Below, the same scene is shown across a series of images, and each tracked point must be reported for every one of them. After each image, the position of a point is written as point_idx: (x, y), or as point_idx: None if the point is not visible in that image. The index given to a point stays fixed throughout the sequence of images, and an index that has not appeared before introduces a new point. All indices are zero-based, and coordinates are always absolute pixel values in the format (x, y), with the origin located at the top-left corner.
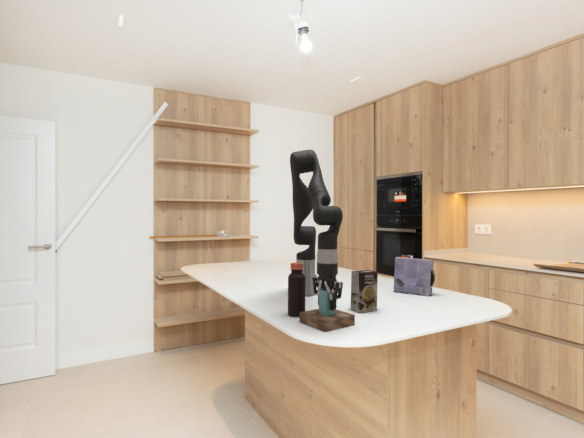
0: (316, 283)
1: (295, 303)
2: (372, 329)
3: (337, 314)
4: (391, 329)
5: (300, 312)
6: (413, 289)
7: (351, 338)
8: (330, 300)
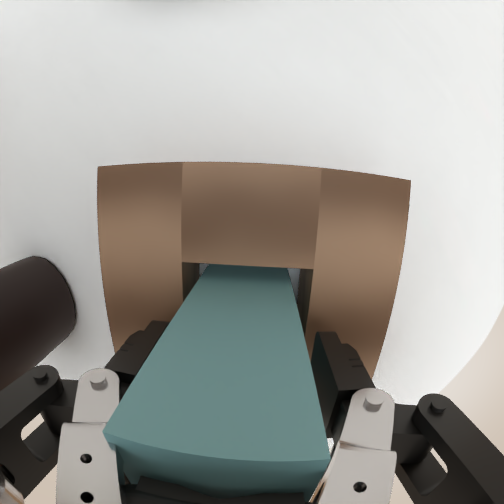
0: (14, 481)
1: (34, 366)
2: (470, 181)
3: (318, 279)
4: (499, 122)
5: None
6: None
7: (456, 348)
8: (329, 433)
